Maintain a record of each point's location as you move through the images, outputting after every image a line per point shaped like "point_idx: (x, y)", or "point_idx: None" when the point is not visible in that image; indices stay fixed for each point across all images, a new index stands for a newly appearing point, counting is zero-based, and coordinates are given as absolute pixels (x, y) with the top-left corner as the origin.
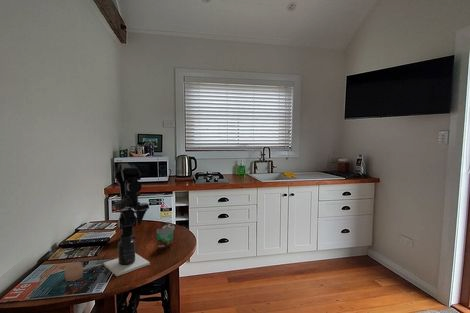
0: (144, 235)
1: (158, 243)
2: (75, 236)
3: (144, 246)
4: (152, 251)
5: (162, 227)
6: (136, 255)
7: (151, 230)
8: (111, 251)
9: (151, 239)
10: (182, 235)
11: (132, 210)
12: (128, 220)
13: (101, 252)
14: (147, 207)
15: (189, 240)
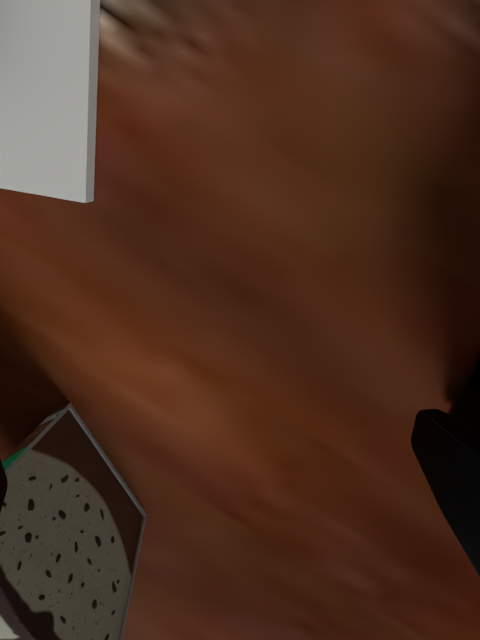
0: (413, 503)
1: (41, 429)
2: None
3: (202, 367)
4: (45, 339)
5: (4, 619)
6: (8, 169)
7: (446, 585)
8: (380, 103)
9: (285, 482)
10: (152, 622)
11: None
12: (456, 501)
13: (463, 8)
14: None
15: None
